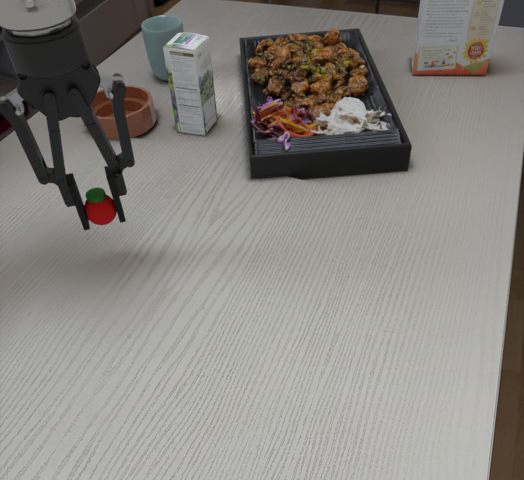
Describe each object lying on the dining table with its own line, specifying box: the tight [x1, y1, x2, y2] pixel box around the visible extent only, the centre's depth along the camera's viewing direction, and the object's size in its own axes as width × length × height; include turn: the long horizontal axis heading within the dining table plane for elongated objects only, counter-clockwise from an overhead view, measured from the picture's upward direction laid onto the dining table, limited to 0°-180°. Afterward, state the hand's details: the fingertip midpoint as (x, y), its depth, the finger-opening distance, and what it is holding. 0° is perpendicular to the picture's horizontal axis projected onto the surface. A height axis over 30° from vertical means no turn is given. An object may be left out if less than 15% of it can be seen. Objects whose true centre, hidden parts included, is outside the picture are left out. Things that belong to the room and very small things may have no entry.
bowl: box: [92, 84, 157, 140], centre depth 97 cm, size 12×12×4 cm
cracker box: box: [410, 0, 505, 76], centre depth 98 cm, size 14×6×21 cm, turn 82°
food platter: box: [239, 27, 413, 180], centre depth 95 cm, size 45×25×10 cm, turn 4°
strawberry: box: [83, 187, 117, 226], centre depth 69 cm, size 4×4×4 cm
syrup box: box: [163, 32, 218, 136], centre depth 92 cm, size 6×6×14 cm
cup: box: [140, 14, 185, 82], centre depth 107 cm, size 8×8×10 cm
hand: (103, 219), depth 70 cm, fingers closed on strawberry, 4 cm apart
